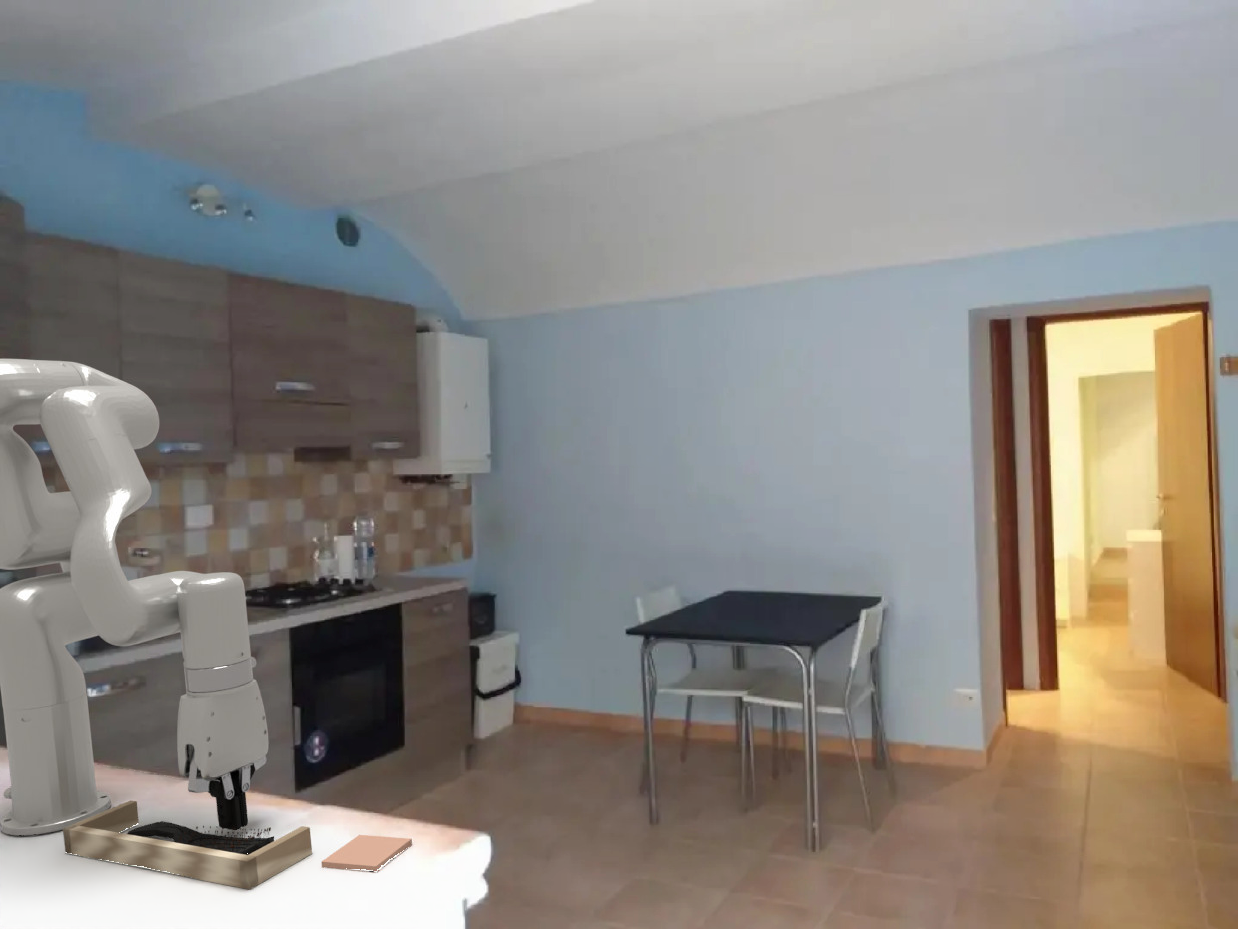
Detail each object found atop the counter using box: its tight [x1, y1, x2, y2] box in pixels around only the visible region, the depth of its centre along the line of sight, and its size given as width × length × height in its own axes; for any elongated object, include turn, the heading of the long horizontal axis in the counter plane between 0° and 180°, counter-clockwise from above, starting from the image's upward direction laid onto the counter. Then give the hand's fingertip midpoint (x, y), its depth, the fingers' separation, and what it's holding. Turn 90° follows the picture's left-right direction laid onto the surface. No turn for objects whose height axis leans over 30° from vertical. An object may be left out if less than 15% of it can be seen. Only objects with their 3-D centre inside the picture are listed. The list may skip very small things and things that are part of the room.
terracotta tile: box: [321, 834, 413, 871], centre depth 110 cm, size 7×7×1 cm
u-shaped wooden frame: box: [62, 800, 313, 890], centre depth 114 cm, size 30×9×3 cm, turn 63°
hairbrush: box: [126, 820, 275, 855], centre depth 116 cm, size 8×4×25 cm
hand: (233, 826), depth 120 cm, fingers closed
